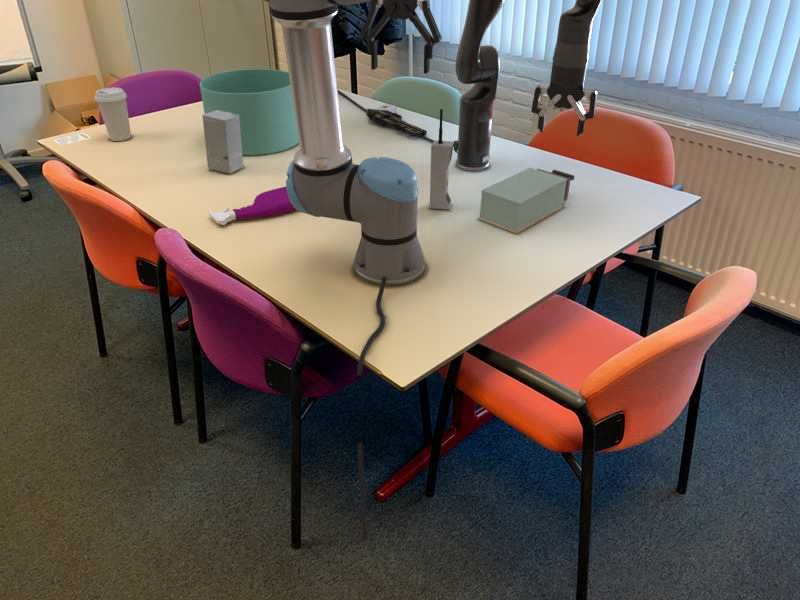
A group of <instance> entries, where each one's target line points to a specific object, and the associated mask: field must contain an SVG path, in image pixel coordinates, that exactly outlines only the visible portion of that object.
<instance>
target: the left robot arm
mask: <svg viewBox="0 0 800 600" xmlns="http://www.w3.org/2000/svg"><path fill="white" fill-rule="evenodd" d="M263 1H264V2H266V3H269V8H270V9H269V10H270V16H271V18H272V19H273V20H274V21H276V22H277V23H278V24H280V26H281V30H282V37H283V43H284V44H283V45H284V50H285V56H286V65H287V70H288V71H287V72H289V78H290V85H291V91H292V98H293V105H294V112H295V118H296V125H297V132H298V139H299V143H298V146H299V149H298V150H297V151H296V153H295V154H294V155H293V160H292V161H290V163H289V165H288V167H287V170H286V176H287V179H285V187H286V188H287V194H288V197H289V200H290V202H291V204H292V205H293V206H294V208H295V209H297V210H296V211H297V212H300V213H301V214H304V215H305V214H306V215H310V216H313V217H316V218H327V219H333V220H334V219H335V220H341V221H346V222H351V223H359V224H360V239H359V242H358V247H357V249H356V252H355V256H354V259H353V270H354V273H355V275H356V276H357V277H358V278H359V279H360V280H362V281H364V282H366V283H369V284H370V285H371V284H372V285H376V286H379V290H378V293H377V297H376V302H375V305H376V306H375V307H376V311H377V314H378V315H379V319H380V323H379V325H378V327H377V328H376V329H375V331H374V332H373V333H372V334H371V335H370V337H369V338H368V339H367V341H366V343H365V345H364V347H363V348H362V350H361V353H360V355H359V359H358V362H357V363H358V364H357V370H356V376H359V377H361V376H362V375H363V369H364V362H365V358H366V356H367V353H368V350H369V349H370V347H371V345H372V343H373V342H374V340H375V339H376V338H377V337H378V335H379V334H381V332H382V331H383V329H384V328H385V325H386V317H385V314H384V312H383V310H382V305H381V303H382V298H383V294H384V291H385V287H395V286H402V285H406V284H410V283H413V282H415V281H417V280H418V279H420V278H421V276H423V274H424V273H425V270H426V261H425V255H424V252H423V250H422V247H421V244H420V241H419V238H418V198H419V188H418V177H417V173H416V171H415V170H414V169H413V168H412V167H411V166H410V165H409V164H408V163H406V162H404V161H403V160H400V159H396V158H392V157H386V156H380V157H376V156H374V157H369V158H366V159H363V160H362V161H361V162H360V163H359V164H355V163H354V162H353V155H352V154H353V153H352V151H351V149H350V148H349V147H347V146H346V145H345V144H344V142H343V140H344V139H343V131H342V121H341V112H340V102H339V93H338V91H337V90H338V83H337V82H338V81H337V73H336V72H337V71H336V61H335V53H334V42H333V33H332V24H331V21H332V20H333V19H334V17H335V16H336V15H337V14H338V12H339V8H338V5H340V6H341V5H342V6H349V5H357V4H362V3H366V2H370V1H371V3H370V9H369V11H368V14H367V16H366V19H365V21H364V24H363V26H362V28H361V31H360V33H359V38H360V39H364V40H365V41H366V45H367V47H366V48H367V49H366V50H367V56H368V55H369V56H370V63H371V64H370V66H371V70H372V71H373V70H376V69H377V68H379V67H378V40H377V39H375V38H376V37H377V35H379V33H380V31H381V30H382V29H383V28H384V26H385V25H386V24H387V23H388V21H389V20H390V19H392V20H402V21H406V20H409V22H410V23H412V25H413V26H414V27H415V29H416V30H417V31H418V33H419V34H420V36H421V37H422V38H423V40H424V41H425V42H426V44H424V46H423V74H426V75H427V74H428V73H429V72H430V64H431V63H430V62H431V60H432V59H433V58H434V56H435V44H439V43H440V42H441V41H442V40H443V37H442V34H441V32H440V30H439V28H438V25H437V22H436V19H435V17H434V15H433V12H432V10H431V3H430V0H263ZM382 6H383V7H384V9H385V10H386V11H385V13H384V14H383V15H382V17H381V18H380V19H379V21H378V22H377V24H376V25H375V26H374V27H373V29H372V30H371V27H372V25H373V23H374V21H375V18H376V16H377V13H378V11H379V9H380V8H381V7H382ZM418 7H419V9H420V11H422V14H423V17H424V19H425V21H426V24H427V25H428V28H429V30H428V29H427V27H426V25H424V23H423V21H422V20H421V19H420V17H419V15H418V13H417V12H416V9H417V8H418ZM370 30H371V31H370ZM363 450H364V449H363V442H358V443H357V458H358V459H357V463H358V479H359V481H358V482H359V497H360V515H361V533H362V535H361V537H362V541H363V542H366V541H367V540H368V538H367V537H368V536H367V534H368V533H367V513H366V511H367V510H366V494H365V493H366V492H365V476H364V472H365V471H364V451H363Z"/></svg>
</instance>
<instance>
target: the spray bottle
mask: <svg viewBox="0 0 800 600" xmlns="http://www.w3.org/2000/svg"><path fill="white" fill-rule="evenodd" d="M229 210H230V209H229V207H228V208H226V209H223V210H221V211H212V210H209V211H208V215H209V217H210V218H211V219H212V220H213V221H214V222H215V223H216V224H218V225H222V226H226V224H227V223H230V222H232V221H236V220H246V219H247V220H248V219H256V218H264V219H265V218H272V217H276V216H281V215H284V214H287V213H290V212H294V211H298V210H297V209H295V208H294V206H293V205H292V204H291V202H290V200H289V197H288V194H287V188H286V186H282V187H278V188H274V189H270V190H267V191H263V192H261V193H259V194H257V195H256V196H255V198H254V200H253V204H251V205H247V206H242V207H240V208H233V209H232V210H231V211H229Z"/></svg>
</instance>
